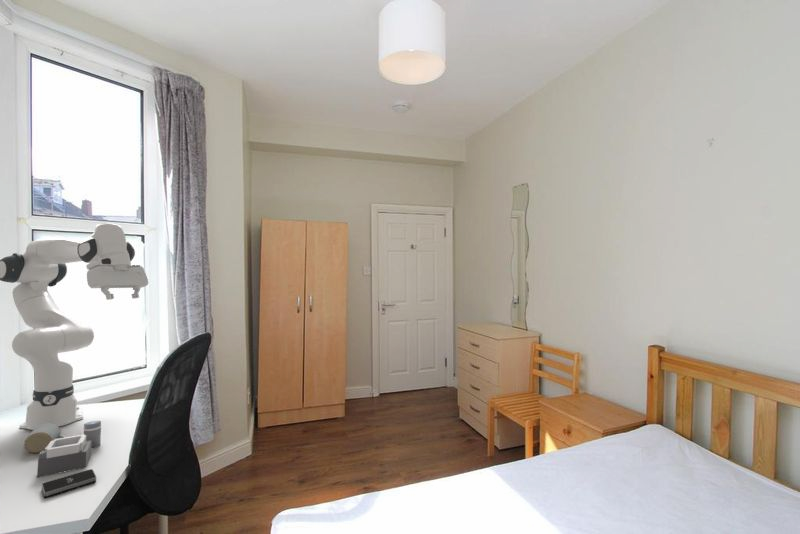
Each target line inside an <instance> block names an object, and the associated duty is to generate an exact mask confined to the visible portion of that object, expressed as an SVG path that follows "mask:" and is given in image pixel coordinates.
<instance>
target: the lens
mask: <svg viewBox="0 0 800 534" xmlns="http://www.w3.org/2000/svg"><path fill="white" fill-rule="evenodd" d="M101 429H102V420H93V421H88V422H86V423H84V425H83V434H85V435H86V441H91V440H92V443H91V450H92V449H95V448H98V447H100V445H101V434H102V433H101V432H102V431H101Z"/></svg>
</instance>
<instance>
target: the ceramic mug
mask: <svg viewBox="0 0 800 534" xmlns="http://www.w3.org/2000/svg"><path fill="white" fill-rule="evenodd" d="M64 437H65V436H63V435H61V429H60V426H59V427H58V426H57V425H55V424H53V423H44V424H41V425H39V426H37V427H36V428H35V429H34V430H31V432H30V433H29V434H28V435H27V437H26V438H25V440H24V443H23V447H24V449H25V451H26V452H28V453H31V454H38V453H39V454H40V452H41V451H43V450H45V448H46V447H47V446H48V444H49V443H50V442H51V441H54V439H58V438H64Z"/></svg>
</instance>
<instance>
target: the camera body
mask: <svg viewBox="0 0 800 534" xmlns="http://www.w3.org/2000/svg"><path fill="white" fill-rule="evenodd" d="M91 443H92V440H91V441H86V435H85V434H84V433H83V434H78V435H72V436H64V438H58V439H54V441H51V442H50V443H49V444H48V446H47V447H46V448H45V450H43V451H41V452H39V454H38V460H37V475H36V477H37V478H41V477H40V476H42V477H46V476H45V475H47V476H51V474H52V475H56V474H55V473H57V474H60V473H59V472H62V473H65V472H64V471H67V472H69V471H68V470H71V471H74V470H73V469H76V470H80V469H79V468H81V469H85V468H84V467H86V468H87V466H86V465H88V463H89V461H90V459H91V457H92V449H91Z"/></svg>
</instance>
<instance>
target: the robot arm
mask: <svg viewBox="0 0 800 534" xmlns="http://www.w3.org/2000/svg"><path fill="white" fill-rule="evenodd" d="M135 255H136V251H135V249H134V246H133V245H132V244H131V243H130V242H129V241H127V239H126V235H125V232H124V230H123V228H122V226H120V225H119V224H116V223H107V222H105V223H100V224H97V225H96V226H95V228H94V232H93V233H92V234H91V235H90V236H89V237H87V238H86V239H83V240H82V241H77V240H71V239H68V238H62V237H56V236H55V237H53V236H50V237H42V238H41V237H40V238H39V239H35V240H32V241H30V242H29V243H28V244H27V246H26V249H25V252H24V253H18V252H14V253H12V254H11V255H9V256H5V257H2V258H1V259H0V281H1V282H4V283H11V284H13V283H18V284H17V285H16V286H15V287H14V288H13V289H12V300H13V303H14V304H15V305H14V306H15V307H16V309H17V311H18V313H19V315H20V316H21V318H22V321H24V323H25V325H26V326H28V327H29V328H31V329H27V330H24V331H21V332H18V333H17V334H16V335H15V337H14V338H13V340H12V342H11V348H12V350H13V352H14V353H15V354H16V356H18V357H20V358H22V359H25V360H26V361H27V362H28V363H29V364H30V365H31V367H32V369H33V372H34V390H32V402H31V403H29V404H28V405H27V407H26V414H25V422H23V423H21V424H19V429H27V430H31V431H33V430H34V429H35V428H36V427H37V426H39V425H41V424H44V423H53V424H55V425H57V426H58V427H59V428H60V427H62V426H65V425H69V424H71V423H74V422H76V421H80V420H83V419H84V414H83V409H82V407H79V406H77V404H78V400H77V398H76V396H75V395H74V392H75V388H74V384H73V374H74V369H73V366H72V365H71V364H70V363H68V362H64V361H61V360H60V359H59V357H58V354H61V353H67V352H74V351H77V350H81V349H83V348H86V347H89V346H90V345H91V344H92V343H93V340H94V337H95V333H94V331H93V329H92V328H91V326H89V325H87V324H83V323H81V322H78V321H76V320H73V319H72V318H70V317H68V315H66V314H64V312H62V311H61V310H60V308H59V306H58V305H57V303H56V302H55V300H54V299H53V297H52V295H50V293H49V290H48V287H55V286H56V285H57V284H58V283H59V282H61V281H62V280H63V279H65V277H66V276H67V273H68V266H67V264H70V263H77V262H84V263H86V266H85V267H86V269H87V271H86V281H87V282H86V283H87V285H88V286H89V288H90V289H100V292H101V293H102V294H103V295H104V296H105V299H106V301H108V300H109V301H110V300H113V299H114V298H115V296H114V293H111V292H110V289H128V288H129V289H132V291H133V293H131V298H132V299H139V298H140V296H139V295H140V294H139V292H140V291H141V288H144V287H147V286H148V285H149V279H148V277H147V276H148V275H147V274H146V272H145V269H144V267H143V266H142V265H140V264H132V260H133V259H134V257H135ZM87 263H88V264H87Z"/></svg>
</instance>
